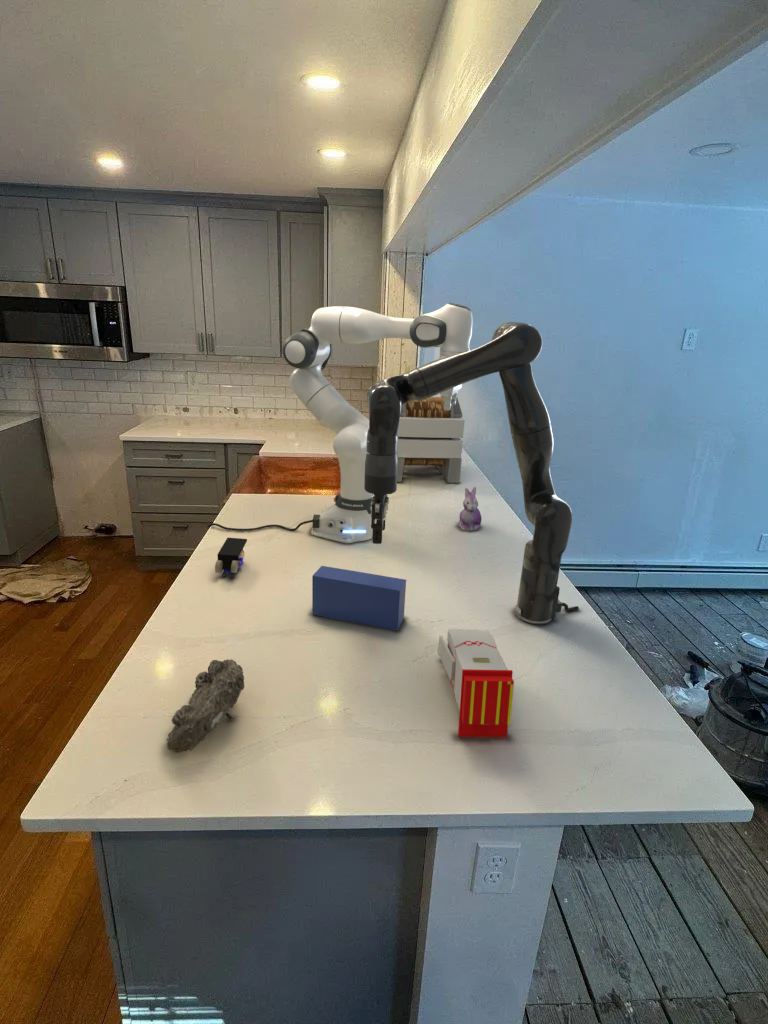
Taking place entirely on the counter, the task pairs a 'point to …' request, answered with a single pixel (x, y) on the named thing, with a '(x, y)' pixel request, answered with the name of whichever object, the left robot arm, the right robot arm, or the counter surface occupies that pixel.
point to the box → (358, 597)
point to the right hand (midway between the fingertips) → (378, 536)
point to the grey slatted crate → (431, 437)
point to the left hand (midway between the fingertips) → (449, 407)
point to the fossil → (206, 705)
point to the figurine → (470, 512)
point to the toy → (478, 682)
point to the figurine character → (230, 556)
